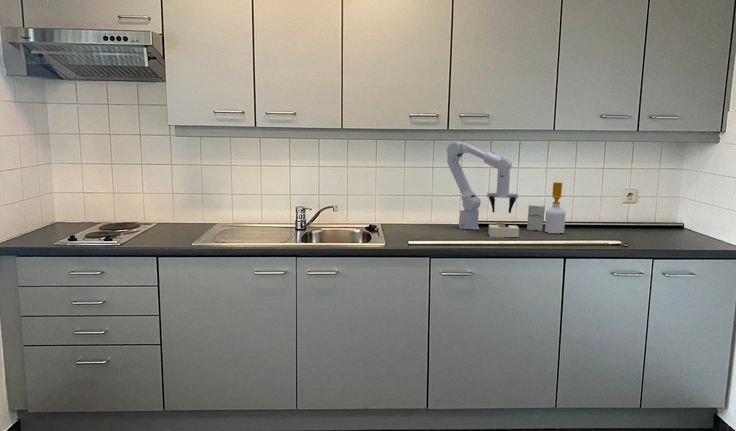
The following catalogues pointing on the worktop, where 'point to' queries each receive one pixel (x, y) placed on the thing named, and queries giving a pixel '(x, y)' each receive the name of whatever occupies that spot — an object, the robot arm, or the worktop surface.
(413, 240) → the worktop surface
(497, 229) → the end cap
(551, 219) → the soap bottle
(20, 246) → the worktop surface
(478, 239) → the worktop surface
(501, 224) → the slat
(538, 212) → the supplement box
